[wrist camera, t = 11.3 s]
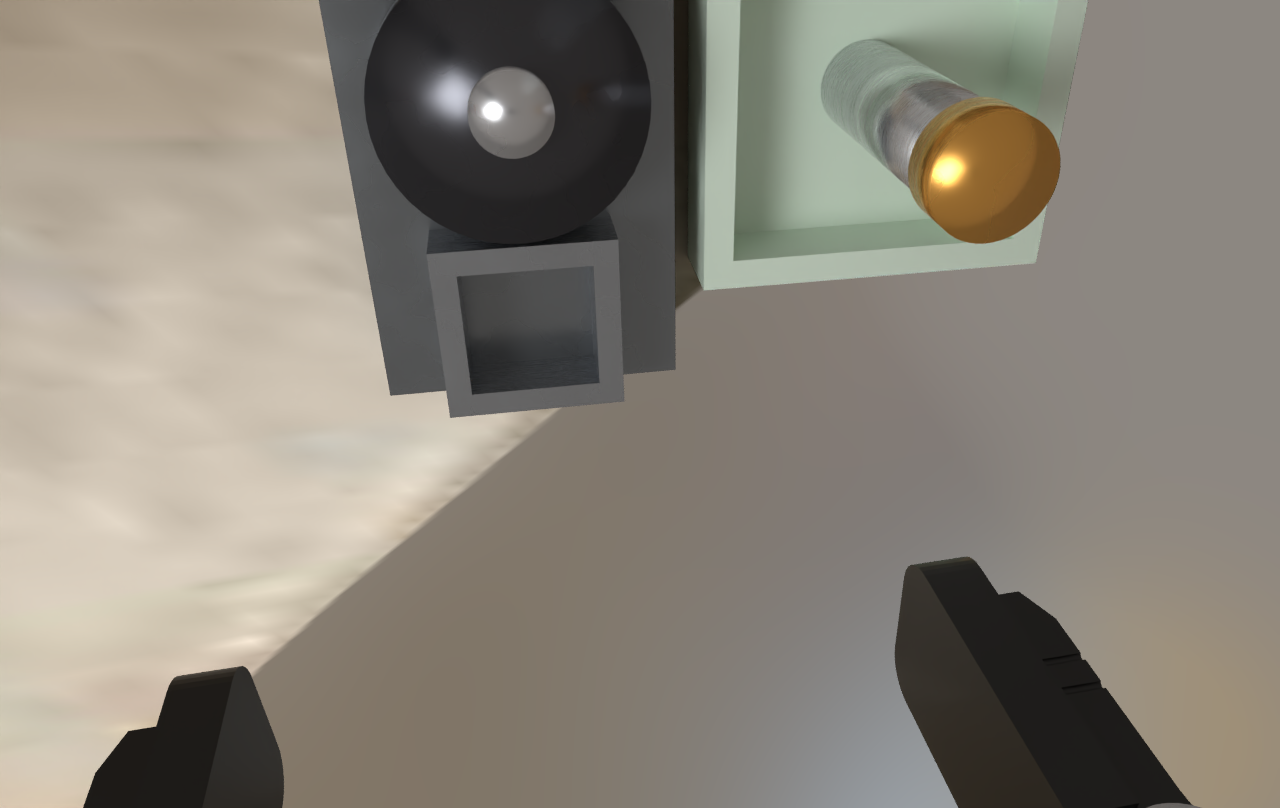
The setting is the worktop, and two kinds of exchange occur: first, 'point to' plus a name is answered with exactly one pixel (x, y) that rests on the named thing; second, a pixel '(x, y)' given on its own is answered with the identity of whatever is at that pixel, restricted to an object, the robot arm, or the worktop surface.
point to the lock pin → (944, 141)
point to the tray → (824, 153)
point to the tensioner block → (512, 192)
